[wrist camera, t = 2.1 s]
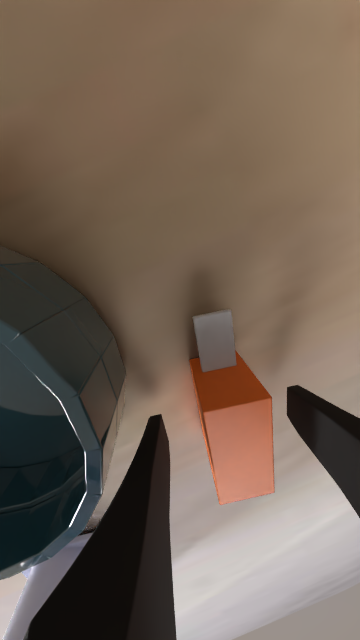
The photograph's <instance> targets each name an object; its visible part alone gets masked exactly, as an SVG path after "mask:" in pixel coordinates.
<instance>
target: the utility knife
mask: <svg viewBox="0 0 360 640" xmlns="http://www.w3.org/2000/svg"><path fill="white" fill-rule="evenodd" d="M193 323H194V329H195V335H196V340H197V346H198V352H199V358H195V359H190V360H189V362H190V367H191V372H192V378H193V383H194V388H195V393H196V398H197V404H198V409H199V414H200V419H201V424H202V430H203V435H204V439H205V443H206V448H207V452H208V456H209V461H210V465H211V469H212V474H213V478H214V482H215V487H216V491H217V495H218V500H219V504H220V505H223V504H227V503H231V502H236V501H240V500H245V499H249V498H253V497H258V496H262V495H266V494H271V493H274V460H273V425H272V397H271V396H270V394H269V393H268V392H267V390H266V389H265V388H264V387H263V385H262V384H261V383H260V381H259V380H258V379H257V378H256V376H255V375H254V374H253V372H252V371H251V370H250V368H249V367H248V366H247V365H246V363H245V362H244V361H243V359H242V358H241V357H240V355H239V354H238V353H237V352H236V350H235V343H234V333H233V323H232V312H231V310H230V309H227V310H222V311H217V312H212V313H207V314H202V315H197V316H193Z"/></svg>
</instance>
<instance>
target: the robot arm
mask: <svg viewBox="0 0 360 640" xmlns="http://www.w3.org/2000/svg"><path fill="white" fill-rule="evenodd" d="M287 416H288V418H289V419H290V421H291V423H292V424H293V426H294V428H295V429H296V431H297V432H298V434H299V435H300V437H301V438H302V439H303V441H304V442H305V443H306V444H307V446H308V447H309V448H310V450H311V451H312V452H313V454H314V455H315V456H316V457H317V459H318V460H319V461H320V463H321V464H322V465H323V466H324V468H325V469H326V470H327V472H328V473H329V474H330V475H331V477H332V478H333V479H334V481H335V482H336V483H337V485H338V486H339V488H340V489H341V490H342V492H343V493H344V495H345V496H346V498H347V499H348V501H349V502H350V504H351V505H352V507H353V508H354V510H355V511H356V513H357V514H358V516H359V518H360V418H358V417H356V416H354V415H352V414H350V413H348V412H346V411H344V410H342V409H340V408H339V407H337V406H335V405H333V404H331V403H329V402H328V401H326V400H324V399H322V398H320V397H319V396H317V395H315V394H313V393H312V392H310V391H308V390H306V389H304V388H302V387H301V386H299V385H295V386H290V387H287ZM169 509H170V452H169V440H168V437H167V433H166V430H165V426H164V423H163V419H162V415H161V414H160V415H155V416H150V418H149V420H148V423H147V426H146V429H145V431H144V434H143V437H142V439H141V442H140V444H139V447H138V449H137V452H136V454H135V456H134V459H133V461H132V463H131V465H130V467H129V469H128V471H127V474H126V476H125V478H124V480H123V482H122V484H121V486H120V488H119V489H118V491H117V493H116V495H115V497H114V499H113V500H112V502H111V504H110V506H109V507H108V509H107V511H106V512H105V514H104V516H103V518H102V519H101V521H100V523H99V524H98V526H97V527H96V529H95V531H94V532H93V533H88V534H84V535H80V536H77V537H76V538H74V539H73V540H72V541H71V542H70V543H69V544H67V545H66V546H65V547H64V548H63V549H62V550H60V551H59V552H58V553H57V554H56V555H55V556H53V557H52V558H50V559H49V560H46V561H44V562H42V563H40V564H38V565H35V566H33V567H31V568H29V569H27V570H25V571H22V573H23V574H24V576H25V577H26V578H27V581H26V584H25V586H24V589H23V591H22V594H21V596H20V598H19V601H18V603H17V606H16V608H15V610H14V613H13V615H12V618H11V620H10V622H9V625H8V627H7V630H6V632H5V635H4V637H3V639H2V640H176V626H175V611H174V597H173V581H172V564H171V546H170V523H169Z"/></svg>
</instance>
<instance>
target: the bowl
mask: <svg viewBox="0 0 360 640" xmlns="http://www.w3.org/2000/svg"><path fill="white" fill-rule="evenodd" d="M125 385H126V371H125V368H124V365H123V362H122V359H121V356H120V353H119V350H118V347H117V344H116V340H115V337H114V336H113V334H112V332H111V331H110V330H109V328H108V327H107V326H106V324H105V323H104V322H103V320H102V319H101V318H100V316H99V315H98V314H97V312H96V311H95V309H94V308H93V307H92V305H91V304H90V303H89V301H88V300H87V299H86V298H85V296H83V295H82V294H81V293H80V292H78V291H77V290H76V289H74V288H73V287H72V286H71V285H69V284H68V283H67V282H65V281H64V280H63V279H61V278H60V277H59V276H58V275H56V274H55V273H54V272H52V271H51V270H50V269H49V268H47V267H46V266H45V265H43V264H42V263H39V262H38V261H35V260H33V259H31V258H28V257H26V256H24V255H21V254H19V253H17V252H14V251H12V250H9V249H7V248H5V247H2V246H0V580H1V579H6V578H9V577H11V576H14V575H16V574H18V573H20V572H22V571H25V570H27V569H29V568H31V567H33V566H35V565H38V564H40V563H42V562H44V561H46V560H49V559H50V558H52V557H53V556H55V555H56V554H57V553H58V552H59V551H60V550H62V549H63V548H64V547H65V546H66V545H67V544H69V543H70V542H71V541H72V540H73V539H74V538H76V537H77V536H78V535H79V534H80V533H81V532H83V530H84V529H85V527H86V525H87V523H88V521H89V519H90V517H91V515H92V513H93V511H94V510H95V508H96V506H97V504H98V502H99V500H100V498H101V496H102V494H103V490H104V486H105V482H106V478H107V474H108V470H109V466H110V462H111V458H112V454H113V450H114V446H115V441H116V437H117V433H118V429H119V425H120V421H121V417H122V413H123V409H124V405H125Z"/></svg>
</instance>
